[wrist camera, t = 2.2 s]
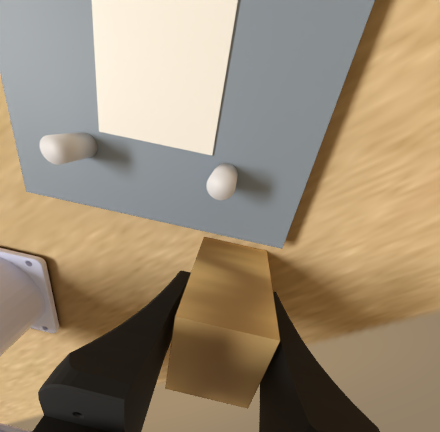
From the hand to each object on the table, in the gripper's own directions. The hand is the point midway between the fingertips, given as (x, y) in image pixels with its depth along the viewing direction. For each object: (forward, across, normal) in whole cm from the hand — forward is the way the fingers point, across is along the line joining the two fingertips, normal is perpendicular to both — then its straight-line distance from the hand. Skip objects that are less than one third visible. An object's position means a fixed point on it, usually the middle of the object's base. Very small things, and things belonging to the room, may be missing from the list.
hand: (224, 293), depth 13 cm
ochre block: (+2, 0, 0) cm, 2 cm away
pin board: (+2, +5, -11) cm, 12 cm away
